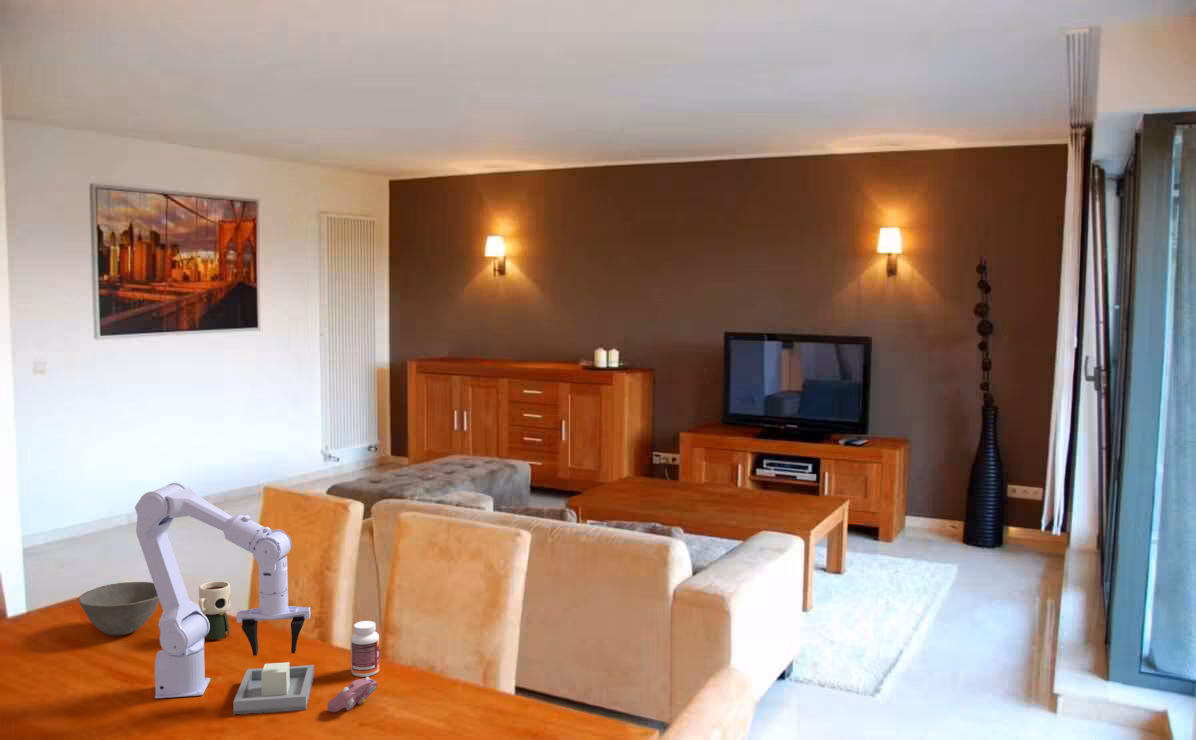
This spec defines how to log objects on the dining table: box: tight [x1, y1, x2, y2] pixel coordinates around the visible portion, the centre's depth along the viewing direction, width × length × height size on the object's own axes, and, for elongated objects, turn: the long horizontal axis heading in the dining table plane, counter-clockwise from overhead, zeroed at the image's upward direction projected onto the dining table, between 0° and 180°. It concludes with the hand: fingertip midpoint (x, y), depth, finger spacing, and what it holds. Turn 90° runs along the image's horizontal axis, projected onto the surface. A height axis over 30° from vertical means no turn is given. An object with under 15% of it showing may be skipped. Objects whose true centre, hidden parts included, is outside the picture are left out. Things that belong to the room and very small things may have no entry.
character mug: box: [198, 580, 232, 640], centre depth 229 cm, size 11×7×13 cm, turn 164°
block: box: [261, 661, 291, 696], centre depth 198 cm, size 5×5×5 cm
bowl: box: [78, 581, 160, 637], centre depth 232 cm, size 19×19×10 cm
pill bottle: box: [350, 620, 380, 678], centre depth 210 cm, size 6×6×11 cm
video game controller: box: [326, 676, 378, 713], centre depth 193 cm, size 10×5×7 cm, turn 149°
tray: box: [233, 664, 315, 716], centre depth 198 cm, size 14×16×3 cm
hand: (274, 652), depth 197 cm, fingers open, 7 cm apart
